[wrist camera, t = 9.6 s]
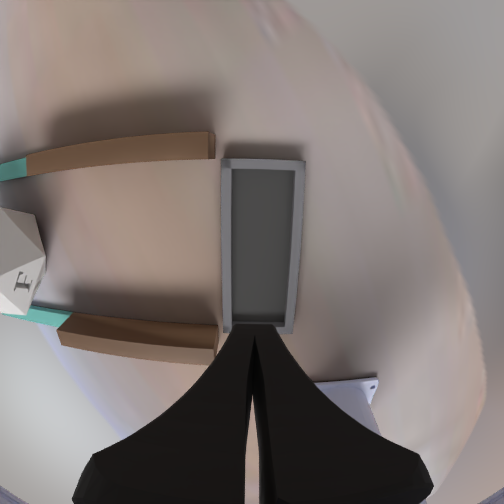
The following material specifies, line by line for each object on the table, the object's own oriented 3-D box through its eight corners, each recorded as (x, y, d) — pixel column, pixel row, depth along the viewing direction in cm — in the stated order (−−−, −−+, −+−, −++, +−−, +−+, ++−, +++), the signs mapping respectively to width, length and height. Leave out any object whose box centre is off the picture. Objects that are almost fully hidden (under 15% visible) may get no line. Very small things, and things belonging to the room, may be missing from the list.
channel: (218, 341, 22) (214, 365, 19) (77, 326, 22) (61, 345, 19) (215, 135, 17) (208, 131, 14) (50, 152, 17) (26, 155, 14)
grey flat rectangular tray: (290, 326, 21) (292, 333, 20) (224, 325, 21) (223, 332, 20) (302, 161, 17) (305, 161, 16) (222, 158, 17) (221, 158, 16)
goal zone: (77, 326, 22) (74, 330, 21) (-11, 307, 22) (-14, 310, 21) (50, 152, 17) (46, 153, 16) (-36, 176, 17) (-40, 176, 16)
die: (34, 300, 22) (30, 354, 14) (-35, 266, 16) (-67, 308, 9) (62, 224, 22) (63, 249, 15) (-9, 185, 17) (-42, 192, 9)
